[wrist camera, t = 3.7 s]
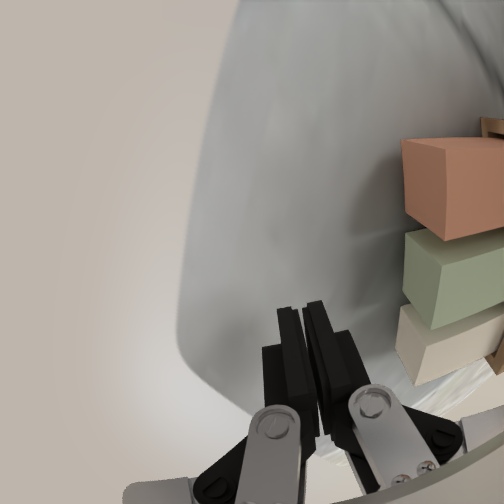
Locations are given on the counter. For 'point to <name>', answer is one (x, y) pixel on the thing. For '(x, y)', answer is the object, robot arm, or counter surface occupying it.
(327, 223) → the counter surface
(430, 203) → the plunger terracotta
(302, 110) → the counter surface
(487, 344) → the plunger ivory
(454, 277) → the plunger sage
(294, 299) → the counter surface
